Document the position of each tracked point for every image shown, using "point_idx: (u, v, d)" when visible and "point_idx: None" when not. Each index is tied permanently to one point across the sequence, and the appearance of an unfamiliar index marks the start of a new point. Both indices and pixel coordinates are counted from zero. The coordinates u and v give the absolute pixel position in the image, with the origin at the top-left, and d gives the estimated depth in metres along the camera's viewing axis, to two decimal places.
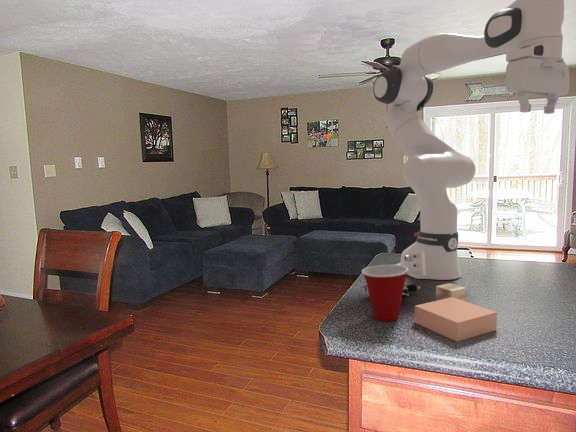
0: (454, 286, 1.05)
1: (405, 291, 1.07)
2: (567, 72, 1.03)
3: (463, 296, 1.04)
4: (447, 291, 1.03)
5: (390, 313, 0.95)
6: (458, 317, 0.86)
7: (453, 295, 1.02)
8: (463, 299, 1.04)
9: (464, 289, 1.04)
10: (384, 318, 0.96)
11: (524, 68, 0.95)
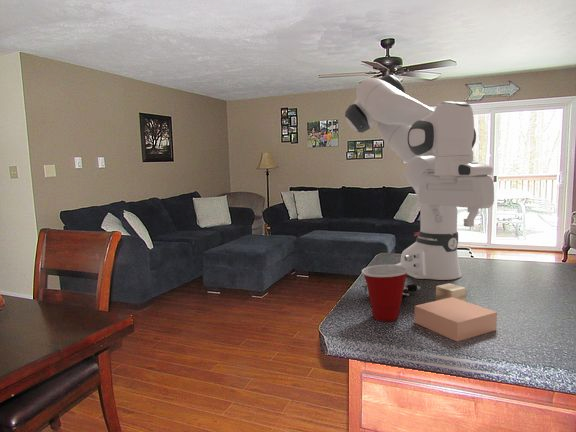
0: (454, 286, 1.05)
1: (405, 291, 1.07)
2: None
3: (463, 296, 1.04)
4: (447, 291, 1.03)
5: (390, 313, 0.95)
6: (458, 317, 0.86)
7: (453, 295, 1.02)
8: (463, 299, 1.04)
9: (464, 289, 1.04)
10: (384, 318, 0.96)
11: None
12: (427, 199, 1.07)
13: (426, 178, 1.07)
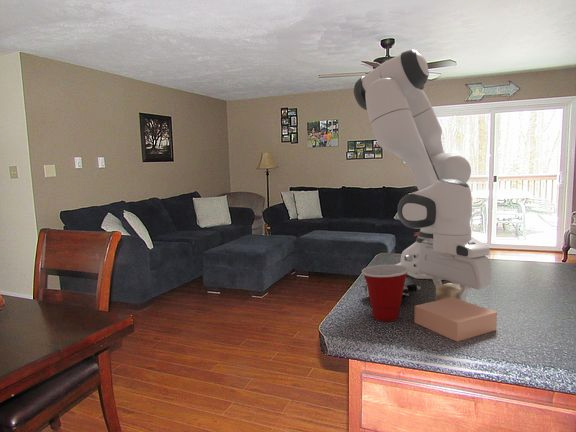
0: (454, 286, 1.05)
1: (405, 291, 1.07)
2: None
3: None
4: (447, 291, 1.03)
5: (390, 313, 0.95)
6: (458, 317, 0.86)
7: (453, 295, 1.02)
8: None
9: None
10: (384, 318, 0.96)
11: None
12: (426, 270, 1.09)
13: (425, 249, 1.09)
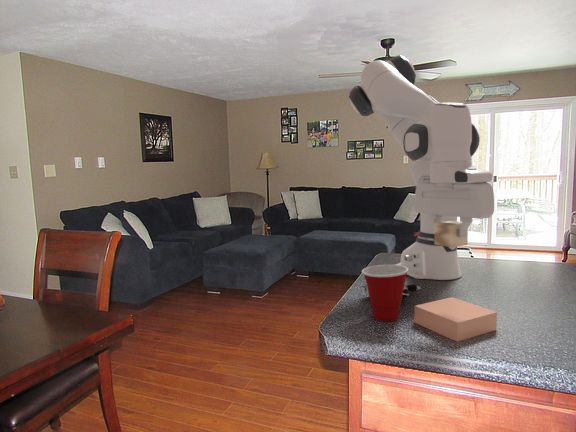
0: (454, 222, 0.95)
1: (405, 291, 1.07)
2: None
3: None
4: (446, 226, 0.93)
5: (390, 313, 0.95)
6: (458, 317, 0.86)
7: (453, 230, 0.92)
8: None
9: None
10: (384, 318, 0.96)
11: None
12: (423, 208, 0.99)
13: (421, 185, 0.99)
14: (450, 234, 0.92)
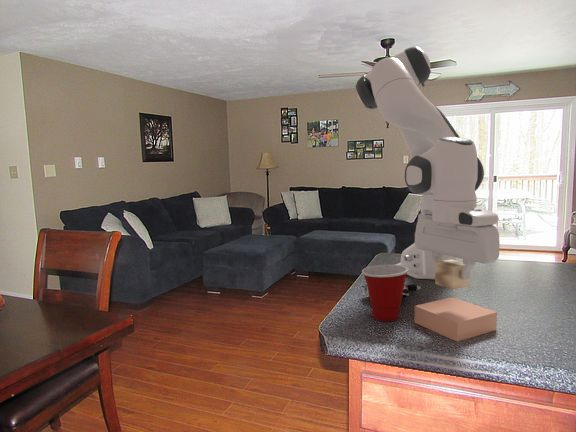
0: (457, 262, 0.91)
1: (405, 291, 1.07)
2: None
3: None
4: (448, 267, 0.89)
5: (390, 313, 0.95)
6: (458, 317, 0.86)
7: (455, 272, 0.88)
8: None
9: None
10: (384, 318, 0.96)
11: None
12: (424, 245, 0.95)
13: (423, 221, 0.95)
14: (452, 276, 0.88)
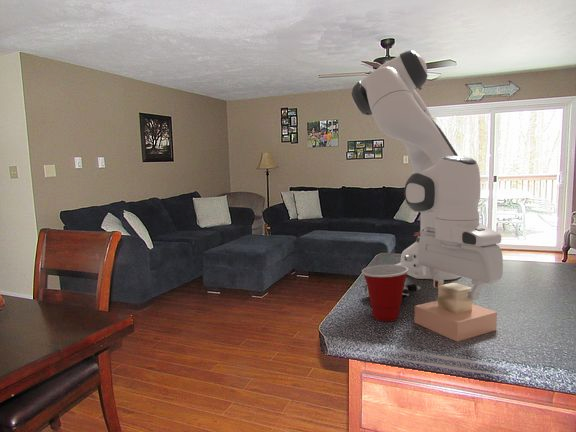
0: (459, 286, 0.92)
1: (405, 291, 1.07)
2: None
3: None
4: (451, 292, 0.89)
5: (390, 313, 0.95)
6: (458, 317, 0.86)
7: (458, 296, 0.88)
8: (470, 301, 0.90)
9: (471, 289, 0.90)
10: (384, 318, 0.96)
11: None
12: (427, 262, 0.96)
13: (425, 238, 0.95)
14: (455, 300, 0.88)
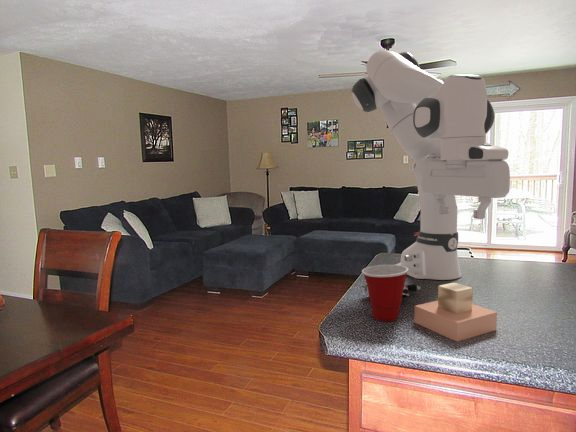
0: (459, 286, 0.92)
1: (405, 291, 1.07)
2: None
3: (470, 297, 0.90)
4: (451, 292, 0.89)
5: (390, 313, 0.95)
6: (458, 317, 0.86)
7: (458, 296, 0.88)
8: (470, 301, 0.90)
9: (471, 289, 0.90)
10: (384, 318, 0.96)
11: None
12: (432, 188, 0.94)
13: (430, 163, 0.94)
14: (455, 300, 0.88)
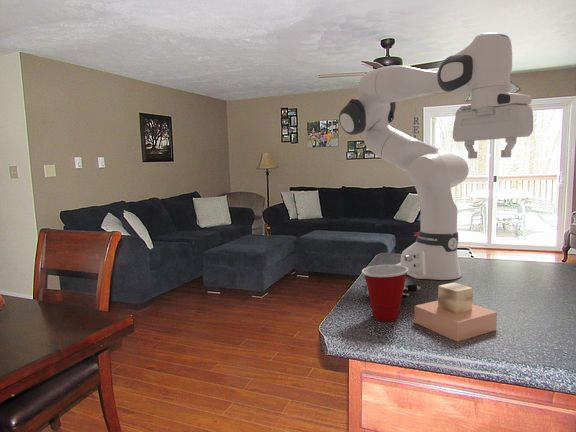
0: (459, 286, 0.92)
1: (405, 291, 1.07)
2: None
3: (470, 297, 0.90)
4: (451, 292, 0.89)
5: (390, 313, 0.95)
6: (458, 317, 0.86)
7: (458, 296, 0.88)
8: (470, 301, 0.90)
9: (471, 289, 0.90)
10: (384, 318, 0.96)
11: None
12: (462, 135, 1.08)
13: (461, 114, 1.08)
14: (455, 300, 0.88)
